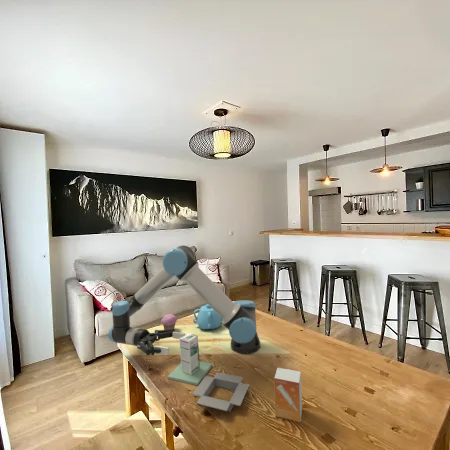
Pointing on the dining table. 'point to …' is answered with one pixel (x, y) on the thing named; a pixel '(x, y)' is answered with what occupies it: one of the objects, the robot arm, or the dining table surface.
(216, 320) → the decorative pot
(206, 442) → the dining table surface
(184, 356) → the syrup box
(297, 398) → the small box
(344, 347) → the dining table surface
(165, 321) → the cupcake
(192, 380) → the mat
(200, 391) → the grey open box frame
